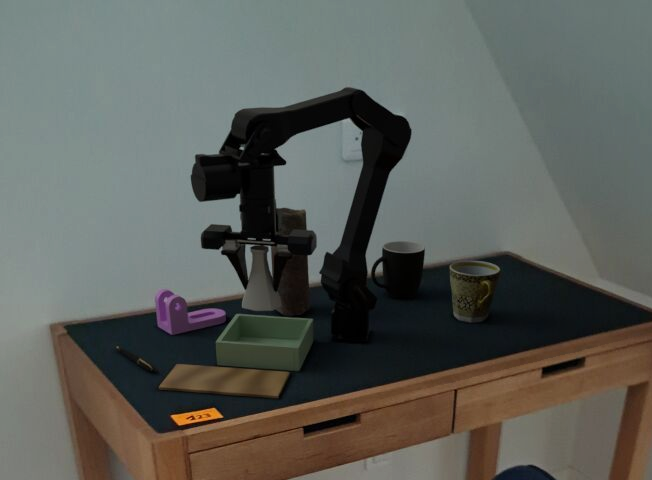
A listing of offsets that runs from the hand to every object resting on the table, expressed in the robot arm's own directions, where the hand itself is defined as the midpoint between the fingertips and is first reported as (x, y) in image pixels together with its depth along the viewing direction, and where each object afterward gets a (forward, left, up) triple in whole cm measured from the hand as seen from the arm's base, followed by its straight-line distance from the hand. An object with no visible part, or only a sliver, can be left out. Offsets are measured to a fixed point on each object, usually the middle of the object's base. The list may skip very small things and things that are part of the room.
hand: (261, 290), depth 149 cm
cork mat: (+4, +13, -12) cm, 18 cm away
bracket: (+17, -13, -12) cm, 24 cm away
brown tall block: (0, -24, -12) cm, 27 cm away
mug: (-20, -38, -12) cm, 45 cm away
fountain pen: (+21, +7, -12) cm, 26 cm away
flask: (0, 0, -3) cm, 3 cm away
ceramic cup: (-37, -26, -12) cm, 47 cm away
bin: (0, -1, -12) cm, 12 cm away
